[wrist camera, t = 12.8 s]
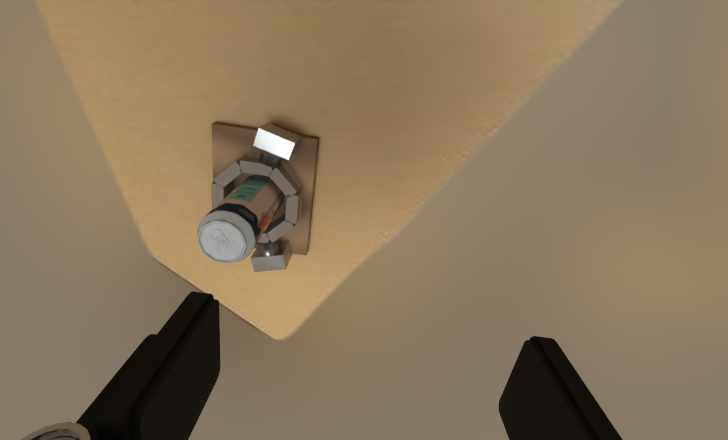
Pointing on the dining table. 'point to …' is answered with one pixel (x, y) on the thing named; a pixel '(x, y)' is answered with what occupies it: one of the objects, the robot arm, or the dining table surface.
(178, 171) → the dining table surface
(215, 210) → the beer can
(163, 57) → the dining table surface
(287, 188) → the octagonal gimbal ring stand
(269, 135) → the shaft in
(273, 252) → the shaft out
